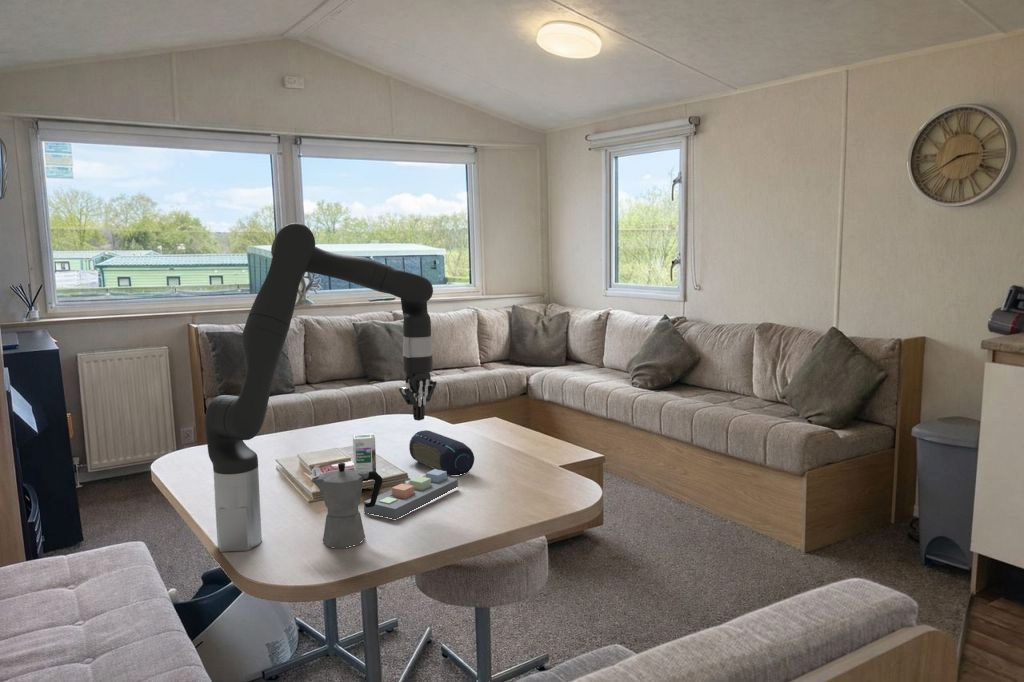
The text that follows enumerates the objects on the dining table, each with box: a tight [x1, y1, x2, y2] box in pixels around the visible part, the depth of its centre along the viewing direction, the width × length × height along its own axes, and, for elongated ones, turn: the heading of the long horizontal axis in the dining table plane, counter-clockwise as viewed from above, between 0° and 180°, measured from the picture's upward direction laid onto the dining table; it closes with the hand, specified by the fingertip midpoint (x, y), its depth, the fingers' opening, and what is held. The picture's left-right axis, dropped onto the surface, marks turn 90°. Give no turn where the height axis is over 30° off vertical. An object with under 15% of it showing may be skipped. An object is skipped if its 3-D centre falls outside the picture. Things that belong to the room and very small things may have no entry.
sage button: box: [408, 475, 431, 491], centre depth 188 cm, size 4×4×4 cm
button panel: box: [363, 474, 459, 519], centre depth 186 cm, size 26×10×3 cm, turn 149°
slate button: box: [425, 468, 448, 483], centre depth 194 cm, size 4×4×4 cm
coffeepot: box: [310, 462, 384, 549], centre depth 160 cm, size 15×9×18 cm, turn 101°
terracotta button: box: [391, 483, 414, 499], centre depth 182 cm, size 4×4×4 cm
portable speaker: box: [408, 430, 475, 476], centre depth 213 cm, size 25×10×10 cm, turn 39°
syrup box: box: [352, 432, 377, 480], centre depth 196 cm, size 6×6×14 cm
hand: (419, 419), depth 186 cm, fingers closed
